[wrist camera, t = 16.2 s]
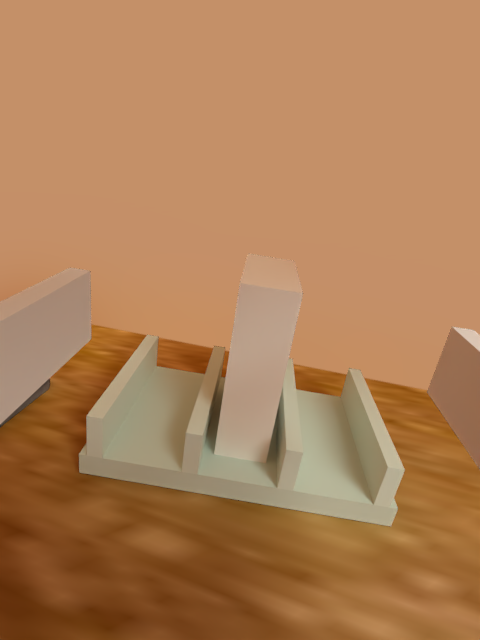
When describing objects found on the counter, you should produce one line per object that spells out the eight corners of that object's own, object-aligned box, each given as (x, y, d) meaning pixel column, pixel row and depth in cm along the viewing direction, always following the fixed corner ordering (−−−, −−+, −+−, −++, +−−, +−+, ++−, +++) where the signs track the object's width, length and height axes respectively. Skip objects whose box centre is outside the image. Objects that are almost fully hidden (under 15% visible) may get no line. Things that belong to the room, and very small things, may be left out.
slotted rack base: (352, 413, 35) (365, 370, 33) (390, 526, 24) (413, 471, 22) (139, 377, 35) (141, 333, 34) (79, 472, 24) (78, 414, 23)
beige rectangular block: (266, 396, 33) (294, 260, 28) (265, 463, 25) (303, 293, 21) (227, 390, 33) (248, 253, 28) (214, 454, 25) (240, 282, 21)
